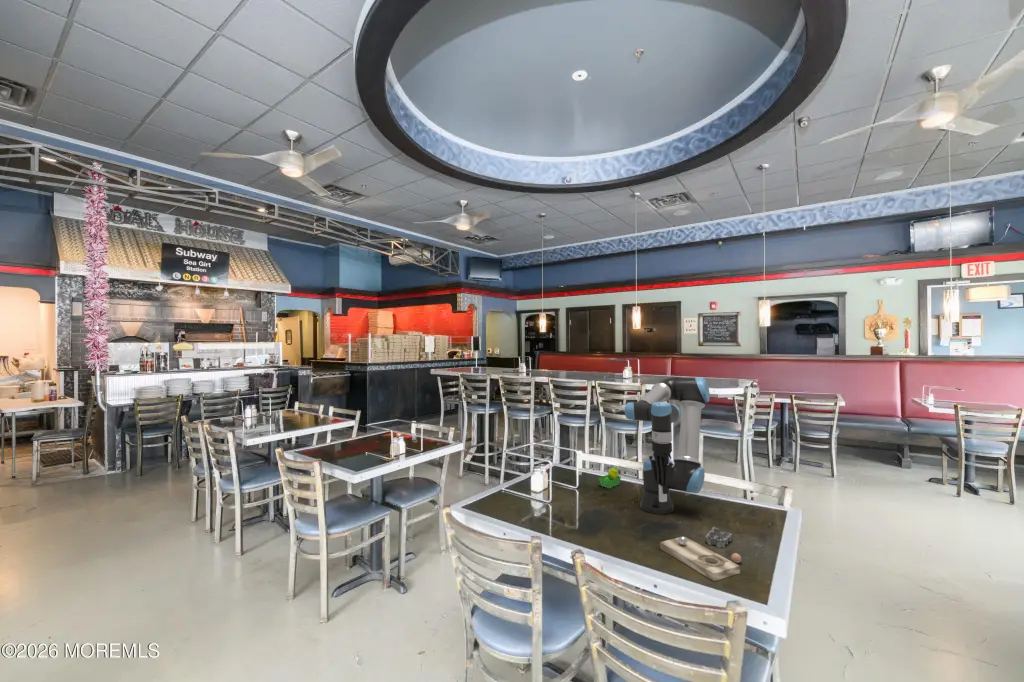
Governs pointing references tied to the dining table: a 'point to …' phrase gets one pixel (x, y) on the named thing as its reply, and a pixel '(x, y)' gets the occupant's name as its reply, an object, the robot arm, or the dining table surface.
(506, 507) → the dining table surface
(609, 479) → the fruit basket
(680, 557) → the hole plate
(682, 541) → the steel ball
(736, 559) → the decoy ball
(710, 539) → the egg carton
